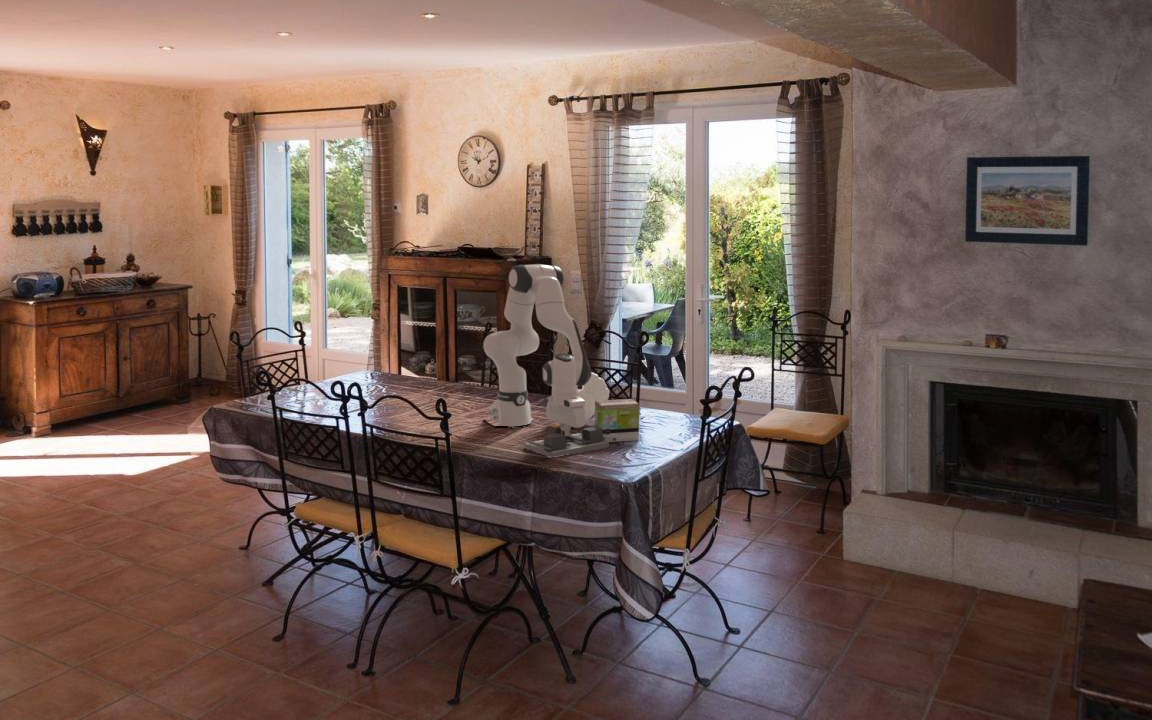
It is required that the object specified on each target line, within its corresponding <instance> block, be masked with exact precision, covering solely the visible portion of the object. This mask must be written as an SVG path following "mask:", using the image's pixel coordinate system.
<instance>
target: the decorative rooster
mask: <svg viewBox="0 0 1152 720" xmlns="http://www.w3.org/2000/svg"><path fill="white" fill-rule="evenodd" d="M578 386H579V385H576V389H577V394H578V395H579V396H580V397H581V398H582V399H583V400H584V401H585V406H583V407H584V410H585V424H584V426H585V425H586V424H587V423H588V422H589V421H590V419H591V418H592V417H593V415H595V401H605V400H609V397H610V389H609V388H608V387H607V384H606V382H605V380H604V378H602V377H599V375H598V374H597V373H595V372H592V371H591V378H590V380H589V381H588V382H587V383H586V384H585V385H581V386H582V388H580V389H578ZM551 395H553V386H551ZM553 422H554V424H558V422H555V421H553Z"/></svg>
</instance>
